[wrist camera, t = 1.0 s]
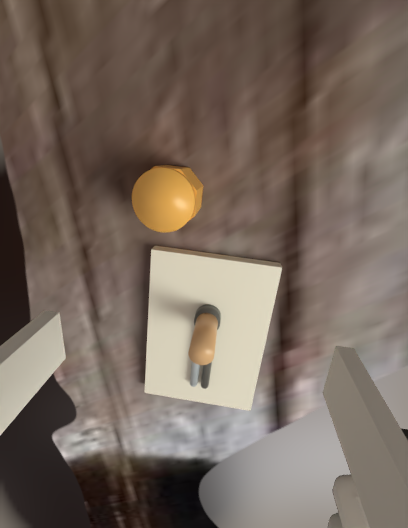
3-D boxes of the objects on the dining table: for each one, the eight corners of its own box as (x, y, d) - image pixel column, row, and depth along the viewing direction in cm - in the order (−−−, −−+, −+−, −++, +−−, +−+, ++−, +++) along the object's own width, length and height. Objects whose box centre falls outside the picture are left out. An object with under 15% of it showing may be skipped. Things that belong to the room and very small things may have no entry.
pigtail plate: (155, 245, 32) (128, 273, 24) (280, 262, 31) (294, 298, 23) (147, 384, 39) (125, 441, 31) (249, 401, 38) (253, 464, 30)
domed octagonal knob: (152, 163, 29) (132, 164, 23) (204, 169, 29) (197, 171, 23) (150, 215, 31) (131, 227, 25) (199, 222, 31) (191, 236, 25)
